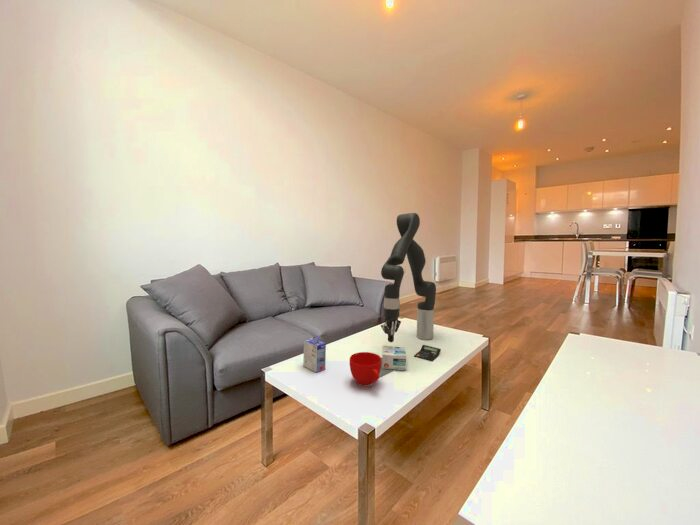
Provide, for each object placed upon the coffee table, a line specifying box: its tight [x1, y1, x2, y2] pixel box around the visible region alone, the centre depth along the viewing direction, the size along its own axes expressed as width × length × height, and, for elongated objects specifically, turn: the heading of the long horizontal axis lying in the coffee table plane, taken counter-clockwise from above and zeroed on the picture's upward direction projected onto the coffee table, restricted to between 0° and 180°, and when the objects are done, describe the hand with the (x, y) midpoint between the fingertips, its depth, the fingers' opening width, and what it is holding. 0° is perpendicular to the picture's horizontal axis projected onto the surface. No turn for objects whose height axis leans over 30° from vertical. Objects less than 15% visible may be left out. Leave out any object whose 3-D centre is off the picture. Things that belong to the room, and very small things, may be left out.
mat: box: [349, 357, 397, 379], centre depth 136 cm, size 16×18×1 cm
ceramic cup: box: [349, 351, 382, 387], centre depth 118 cm, size 13×17×10 cm
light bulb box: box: [381, 345, 407, 371], centre depth 136 cm, size 11×7×11 cm
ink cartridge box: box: [303, 334, 327, 373], centre depth 132 cm, size 10×6×14 cm, turn 46°
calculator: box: [413, 344, 442, 362], centre depth 148 cm, size 9×12×3 cm
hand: (390, 341), depth 142 cm, fingers closed
